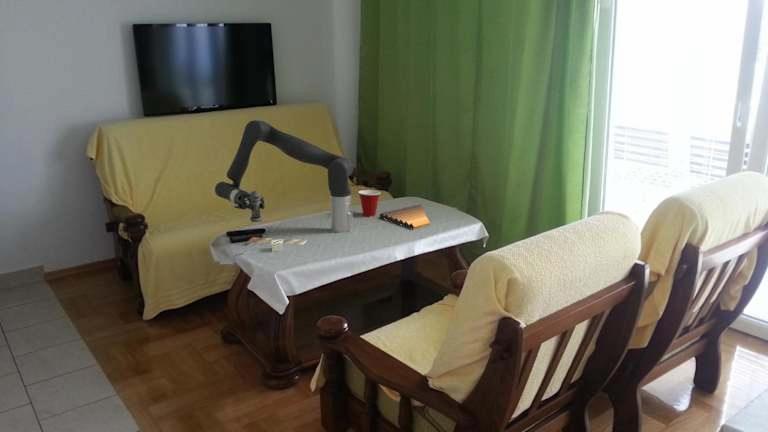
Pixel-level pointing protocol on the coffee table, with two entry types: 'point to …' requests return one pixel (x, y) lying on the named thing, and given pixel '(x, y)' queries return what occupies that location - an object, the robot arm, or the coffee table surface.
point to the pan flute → (408, 216)
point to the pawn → (256, 202)
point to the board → (269, 240)
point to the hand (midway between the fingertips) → (258, 207)
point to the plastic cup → (369, 201)
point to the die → (277, 245)
